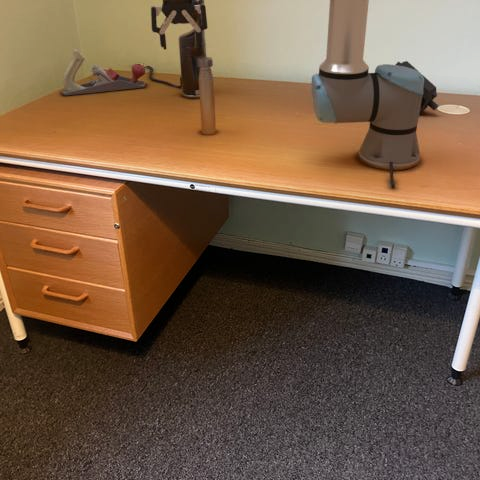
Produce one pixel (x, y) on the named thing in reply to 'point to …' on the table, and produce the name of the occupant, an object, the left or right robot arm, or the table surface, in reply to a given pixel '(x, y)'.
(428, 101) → the tool
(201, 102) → the bottle
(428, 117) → the table surface
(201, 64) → the cap
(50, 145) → the table surface
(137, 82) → the hand plane
